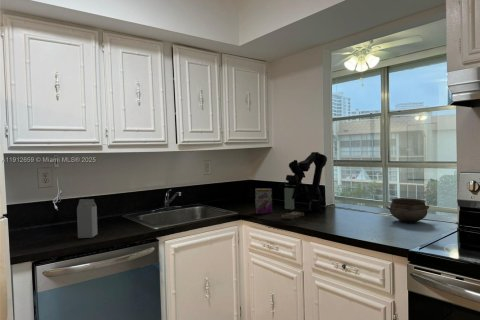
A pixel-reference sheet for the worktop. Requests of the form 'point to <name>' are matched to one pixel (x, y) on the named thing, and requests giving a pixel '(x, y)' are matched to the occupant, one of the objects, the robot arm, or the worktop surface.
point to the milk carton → (87, 218)
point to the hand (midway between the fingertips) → (288, 198)
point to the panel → (289, 198)
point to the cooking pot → (408, 209)
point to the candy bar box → (263, 201)
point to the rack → (292, 215)
